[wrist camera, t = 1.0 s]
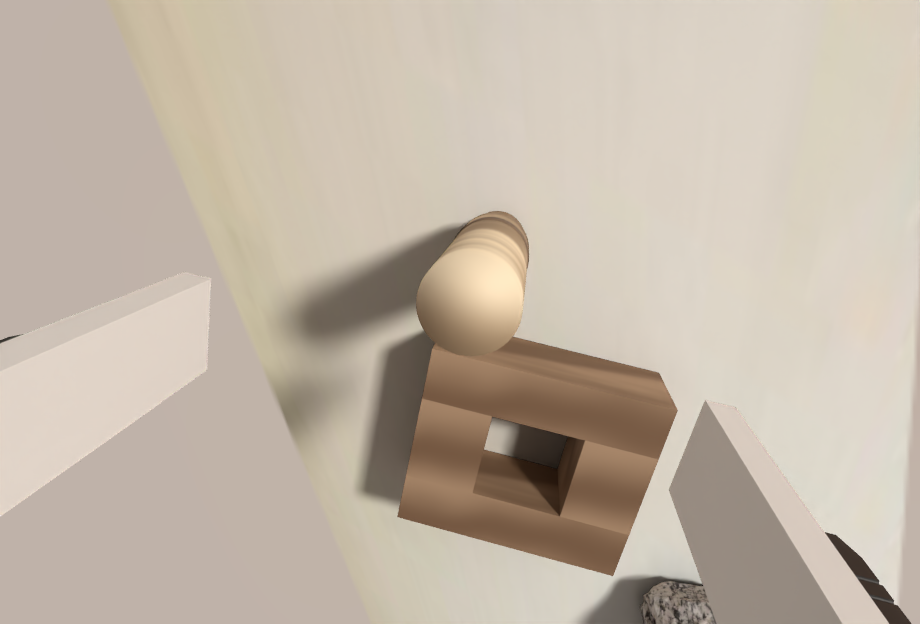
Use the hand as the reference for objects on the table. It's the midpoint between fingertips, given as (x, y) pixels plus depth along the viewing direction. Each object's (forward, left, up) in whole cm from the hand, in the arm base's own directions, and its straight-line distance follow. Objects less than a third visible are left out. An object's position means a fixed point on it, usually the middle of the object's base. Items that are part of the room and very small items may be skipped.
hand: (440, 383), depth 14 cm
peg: (0, 0, -20) cm, 20 cm away
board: (+12, +5, -20) cm, 24 cm away
